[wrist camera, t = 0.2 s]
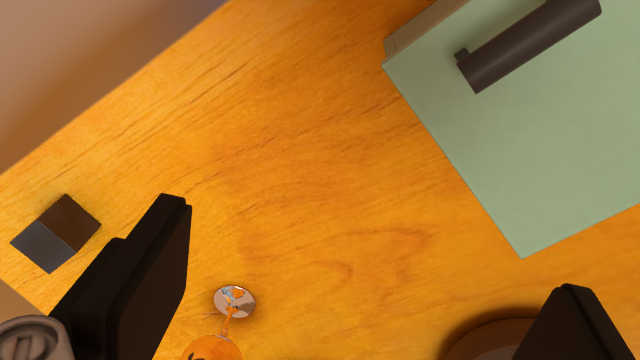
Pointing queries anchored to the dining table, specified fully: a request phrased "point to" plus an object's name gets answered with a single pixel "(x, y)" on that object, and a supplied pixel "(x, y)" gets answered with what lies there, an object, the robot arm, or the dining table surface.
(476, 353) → the vase
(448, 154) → the cool box lid
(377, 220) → the dining table surface
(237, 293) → the wineglass
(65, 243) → the block
